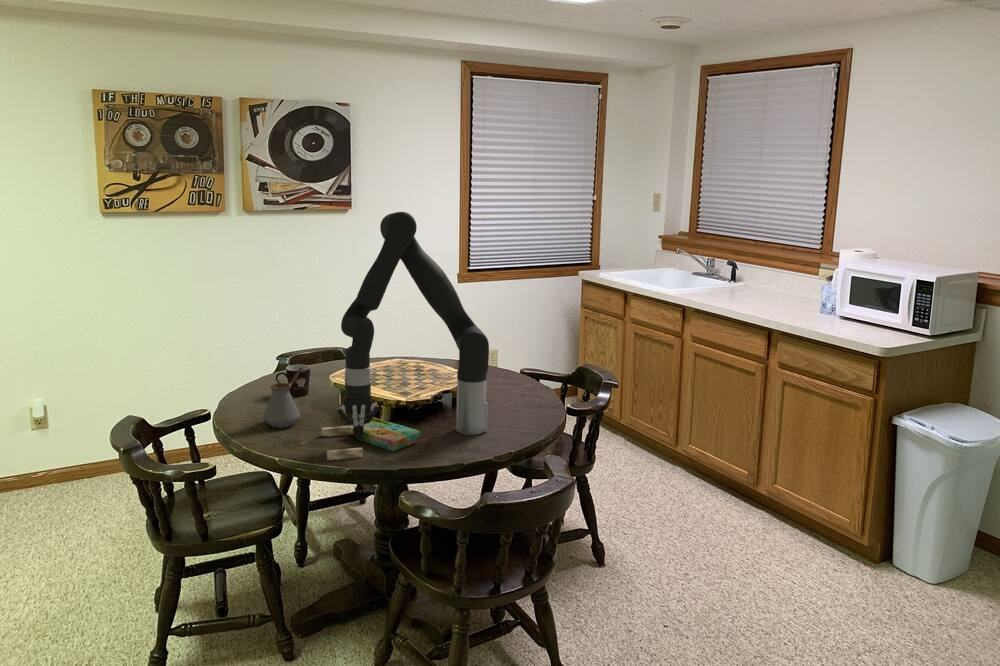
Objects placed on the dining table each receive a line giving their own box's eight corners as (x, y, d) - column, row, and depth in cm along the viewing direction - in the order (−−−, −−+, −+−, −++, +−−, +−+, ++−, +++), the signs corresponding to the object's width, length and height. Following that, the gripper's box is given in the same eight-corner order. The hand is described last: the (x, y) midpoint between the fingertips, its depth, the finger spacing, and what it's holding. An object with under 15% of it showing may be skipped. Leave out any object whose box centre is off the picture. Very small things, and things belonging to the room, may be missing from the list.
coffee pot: (290, 431, 240) (288, 385, 237) (256, 428, 243) (254, 382, 239) (319, 410, 261) (318, 368, 257) (288, 407, 263) (286, 365, 260)
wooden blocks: (354, 433, 241) (354, 425, 240) (362, 457, 222) (362, 448, 221) (321, 435, 238) (321, 427, 237) (327, 460, 219) (327, 452, 218)
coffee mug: (313, 391, 282) (312, 364, 280) (308, 398, 274) (307, 371, 272) (281, 390, 282) (280, 364, 279) (275, 397, 273) (274, 370, 271)
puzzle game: (393, 439, 224) (346, 424, 236) (393, 454, 225) (346, 438, 237) (420, 429, 233) (373, 414, 245) (420, 443, 234) (374, 428, 246)
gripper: (378, 376, 232) (378, 431, 236) (333, 379, 228) (334, 434, 232) (382, 383, 225) (382, 439, 229) (336, 386, 221) (337, 443, 225)
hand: (358, 436), depth 231 cm, fingers closed
